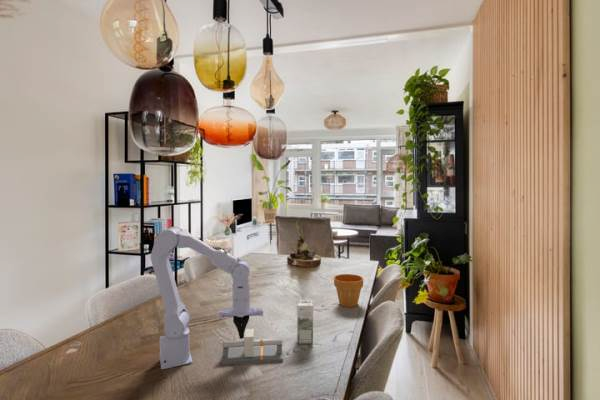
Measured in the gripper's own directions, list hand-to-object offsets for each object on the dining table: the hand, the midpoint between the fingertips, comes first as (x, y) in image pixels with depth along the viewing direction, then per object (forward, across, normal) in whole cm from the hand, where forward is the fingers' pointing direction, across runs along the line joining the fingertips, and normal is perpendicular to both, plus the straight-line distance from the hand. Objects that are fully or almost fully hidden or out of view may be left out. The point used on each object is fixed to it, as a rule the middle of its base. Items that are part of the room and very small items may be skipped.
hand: (241, 337), depth 111 cm
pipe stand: (+7, +4, 0) cm, 8 cm away
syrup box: (+7, +23, +9) cm, 25 cm away
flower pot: (+7, +48, +46) cm, 67 cm away
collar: (+5, +3, 0) cm, 6 cm away
